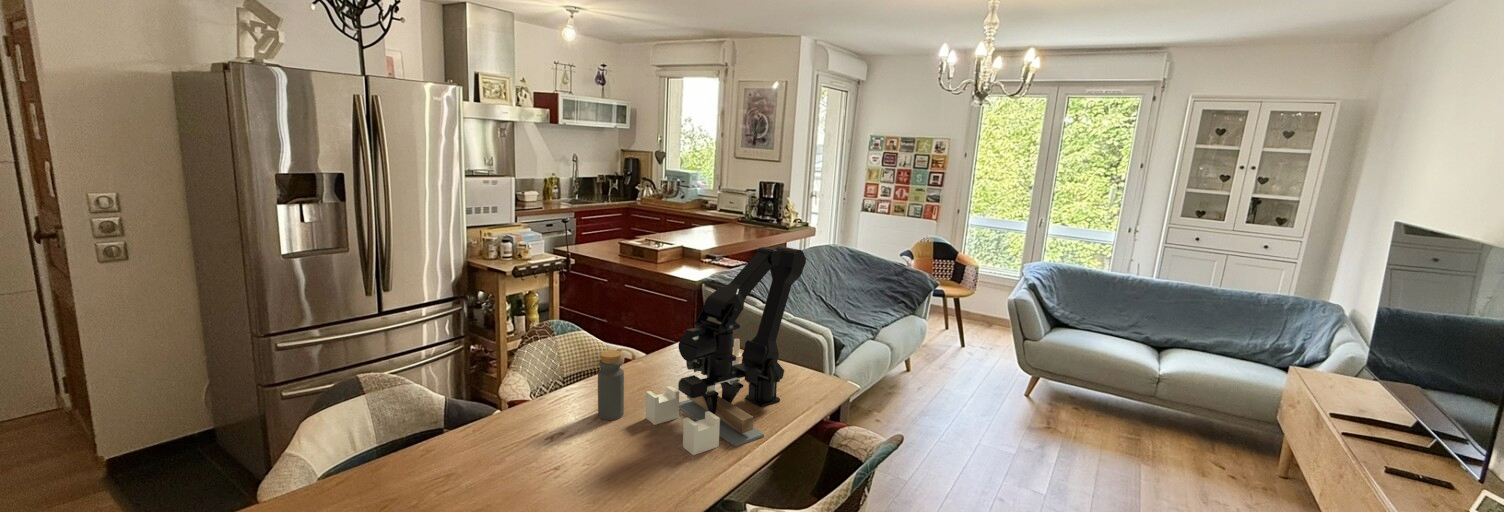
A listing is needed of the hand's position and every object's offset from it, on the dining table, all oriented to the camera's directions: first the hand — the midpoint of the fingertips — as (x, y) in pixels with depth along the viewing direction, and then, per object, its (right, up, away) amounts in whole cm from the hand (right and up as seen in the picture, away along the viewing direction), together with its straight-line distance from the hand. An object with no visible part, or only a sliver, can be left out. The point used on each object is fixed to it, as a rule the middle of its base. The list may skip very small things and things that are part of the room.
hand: (718, 414), depth 140 cm
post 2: (-3, -4, -12) cm, 13 cm away
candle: (+3, +4, +29) cm, 30 cm away
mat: (0, -1, 0) cm, 2 cm away
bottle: (-25, 0, +1) cm, 25 cm away
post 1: (-13, -1, 0) cm, 13 cm away
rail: (0, 0, 0) cm, 0 cm away
